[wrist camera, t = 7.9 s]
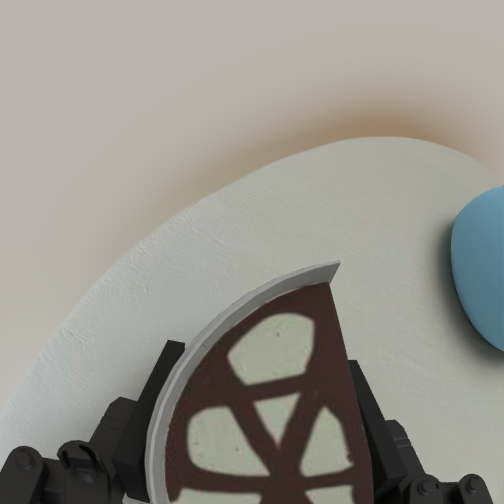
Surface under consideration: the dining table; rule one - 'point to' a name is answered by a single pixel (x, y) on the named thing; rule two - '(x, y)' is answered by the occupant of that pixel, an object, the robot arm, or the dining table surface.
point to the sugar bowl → (481, 263)
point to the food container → (263, 406)
